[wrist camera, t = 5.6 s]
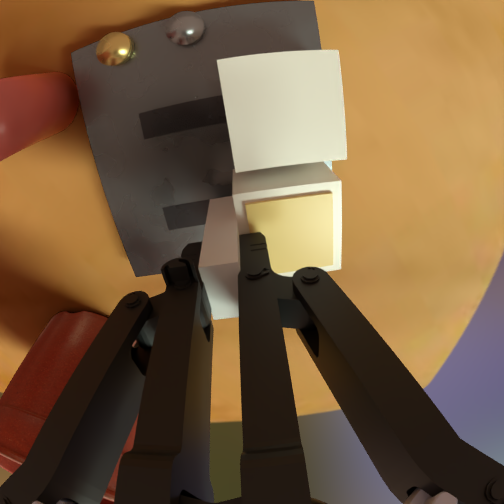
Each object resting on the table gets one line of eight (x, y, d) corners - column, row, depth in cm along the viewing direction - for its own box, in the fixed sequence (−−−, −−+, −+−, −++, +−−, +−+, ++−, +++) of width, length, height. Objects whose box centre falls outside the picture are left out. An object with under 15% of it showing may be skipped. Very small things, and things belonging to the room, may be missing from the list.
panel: (141, 265, 22) (133, 283, 20) (81, 53, 13) (64, 52, 12) (327, 237, 22) (336, 254, 20) (307, 6, 13) (317, -3, 11)
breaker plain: (235, 151, 16) (235, 172, 13) (221, 65, 14) (216, 59, 10) (323, 141, 16) (346, 159, 13) (314, 55, 13) (338, 49, 10)
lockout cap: (36, 142, 16) (-27, 176, 10) (24, 87, 14) (-45, 104, 8) (84, 122, 16) (22, 149, 10) (72, 62, 14) (5, 65, 8)
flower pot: (72, 387, 32) (43, 493, 18) (7, 291, 23) (-64, 417, 9) (189, 394, 32) (182, 525, 18) (146, 284, 23) (94, 486, 10)
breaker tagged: (245, 244, 19) (248, 285, 16) (232, 169, 17) (232, 196, 13) (322, 233, 19) (341, 271, 16) (319, 158, 17) (342, 182, 13)
